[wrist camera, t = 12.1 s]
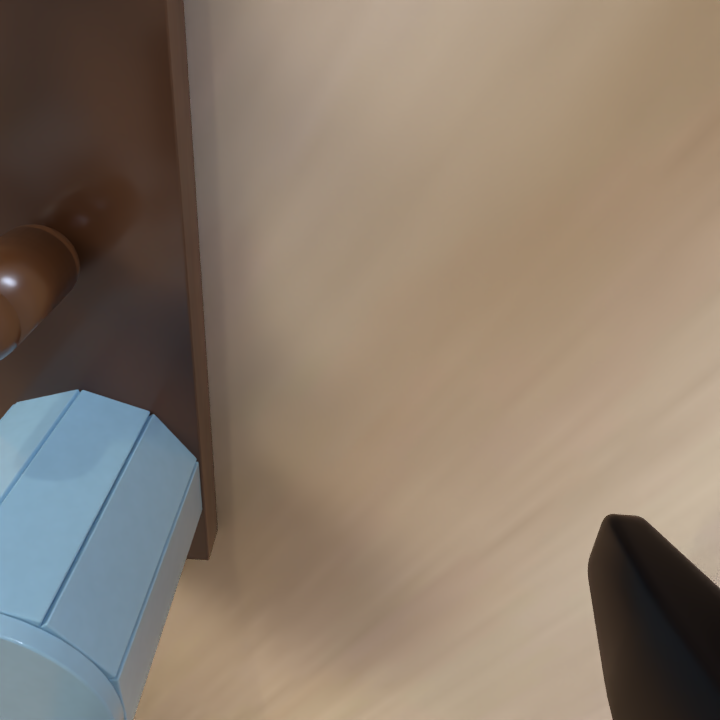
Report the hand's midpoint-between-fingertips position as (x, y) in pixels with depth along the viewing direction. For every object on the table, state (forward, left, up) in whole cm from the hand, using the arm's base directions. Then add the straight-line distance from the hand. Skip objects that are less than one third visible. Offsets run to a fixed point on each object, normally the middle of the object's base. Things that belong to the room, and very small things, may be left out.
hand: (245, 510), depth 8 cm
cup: (+7, +9, -10) cm, 15 cm away
